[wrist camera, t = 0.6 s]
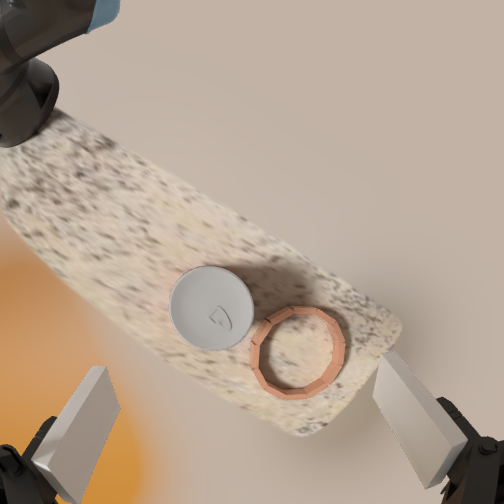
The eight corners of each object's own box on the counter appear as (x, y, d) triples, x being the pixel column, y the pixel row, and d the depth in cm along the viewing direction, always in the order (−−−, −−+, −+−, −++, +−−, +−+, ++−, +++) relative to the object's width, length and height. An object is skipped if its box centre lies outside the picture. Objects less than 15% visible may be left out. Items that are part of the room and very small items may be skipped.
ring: (231, 368, 37) (233, 373, 35) (284, 287, 39) (289, 289, 37) (305, 407, 38) (310, 412, 36) (353, 333, 40) (360, 336, 38)
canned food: (218, 339, 37) (226, 367, 26) (164, 305, 36) (151, 320, 25) (250, 289, 38) (272, 297, 27) (197, 254, 37) (197, 248, 26)
